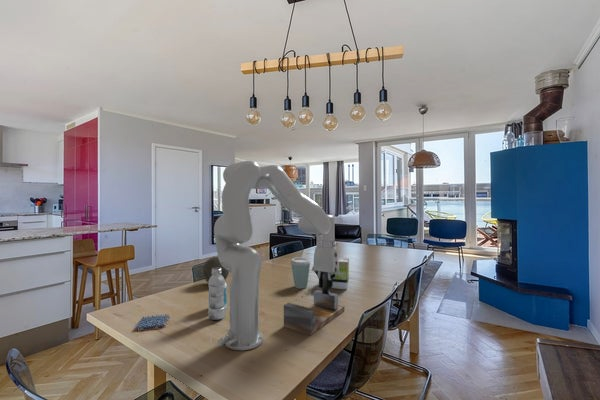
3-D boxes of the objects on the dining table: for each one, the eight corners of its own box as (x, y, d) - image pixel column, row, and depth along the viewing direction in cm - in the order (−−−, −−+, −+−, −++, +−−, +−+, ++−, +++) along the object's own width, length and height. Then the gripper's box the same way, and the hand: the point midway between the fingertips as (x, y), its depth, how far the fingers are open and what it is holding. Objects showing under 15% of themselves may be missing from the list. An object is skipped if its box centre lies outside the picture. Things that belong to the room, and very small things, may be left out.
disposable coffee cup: (314, 285, 155) (313, 258, 155) (304, 291, 145) (304, 262, 145) (297, 282, 160) (297, 256, 160) (286, 288, 151) (286, 259, 151)
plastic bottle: (218, 314, 117) (218, 265, 117) (228, 318, 113) (228, 268, 113) (204, 319, 112) (204, 268, 112) (214, 323, 108) (214, 271, 108)
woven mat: (133, 333, 102) (133, 328, 102) (141, 321, 112) (141, 316, 112) (165, 329, 104) (165, 324, 104) (170, 318, 115) (170, 313, 115)
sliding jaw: (334, 310, 115) (334, 271, 115) (313, 304, 121) (313, 268, 121) (338, 307, 117) (338, 270, 117) (317, 302, 123) (317, 266, 123)
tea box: (319, 287, 151) (319, 260, 151) (322, 282, 161) (322, 256, 161) (347, 289, 148) (347, 261, 148) (349, 284, 158) (349, 257, 157)
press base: (310, 335, 99) (310, 312, 99) (283, 326, 106) (283, 305, 106) (344, 311, 120) (344, 292, 120) (320, 304, 127) (320, 287, 127)
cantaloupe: (231, 286, 154) (231, 258, 154) (203, 289, 149) (203, 261, 148) (227, 279, 167) (227, 254, 167) (202, 282, 162) (202, 256, 162)
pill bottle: (208, 312, 118) (208, 280, 118) (209, 306, 126) (209, 275, 125) (227, 311, 120) (227, 279, 120) (226, 304, 128) (226, 274, 127)
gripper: (347, 244, 117) (347, 289, 117) (313, 241, 127) (314, 282, 127) (338, 247, 111) (339, 294, 111) (304, 243, 121) (304, 286, 121)
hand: (325, 287), depth 119 cm, fingers closed on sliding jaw, 3 cm apart
